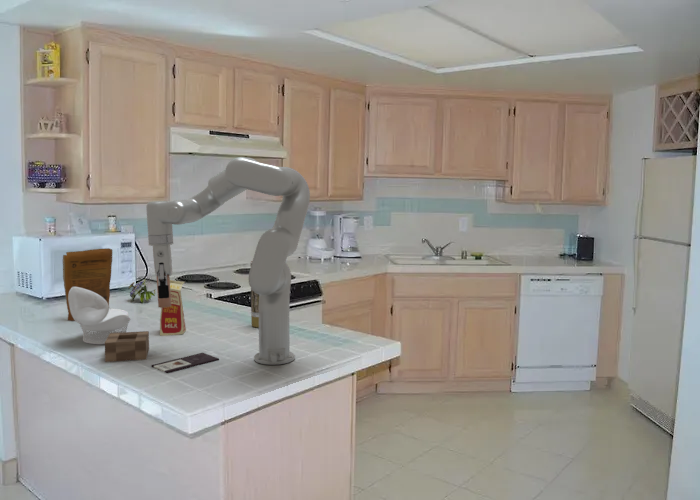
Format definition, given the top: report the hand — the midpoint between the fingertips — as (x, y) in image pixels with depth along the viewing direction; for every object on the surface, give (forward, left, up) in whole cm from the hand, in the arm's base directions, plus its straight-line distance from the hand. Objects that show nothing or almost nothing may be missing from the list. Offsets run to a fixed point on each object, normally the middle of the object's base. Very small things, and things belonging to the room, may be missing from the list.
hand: (164, 296), depth 196 cm
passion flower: (+87, +15, -19) cm, 90 cm away
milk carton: (+26, -1, -19) cm, 32 cm away
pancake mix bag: (+55, +32, -19) cm, 66 cm away
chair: (+20, +23, -19) cm, 36 cm away
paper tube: (+28, -33, -19) cm, 48 cm away
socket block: (-1, +12, -19) cm, 22 cm away
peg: (0, 0, -3) cm, 3 cm away
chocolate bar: (-14, -7, -19) cm, 24 cm away
